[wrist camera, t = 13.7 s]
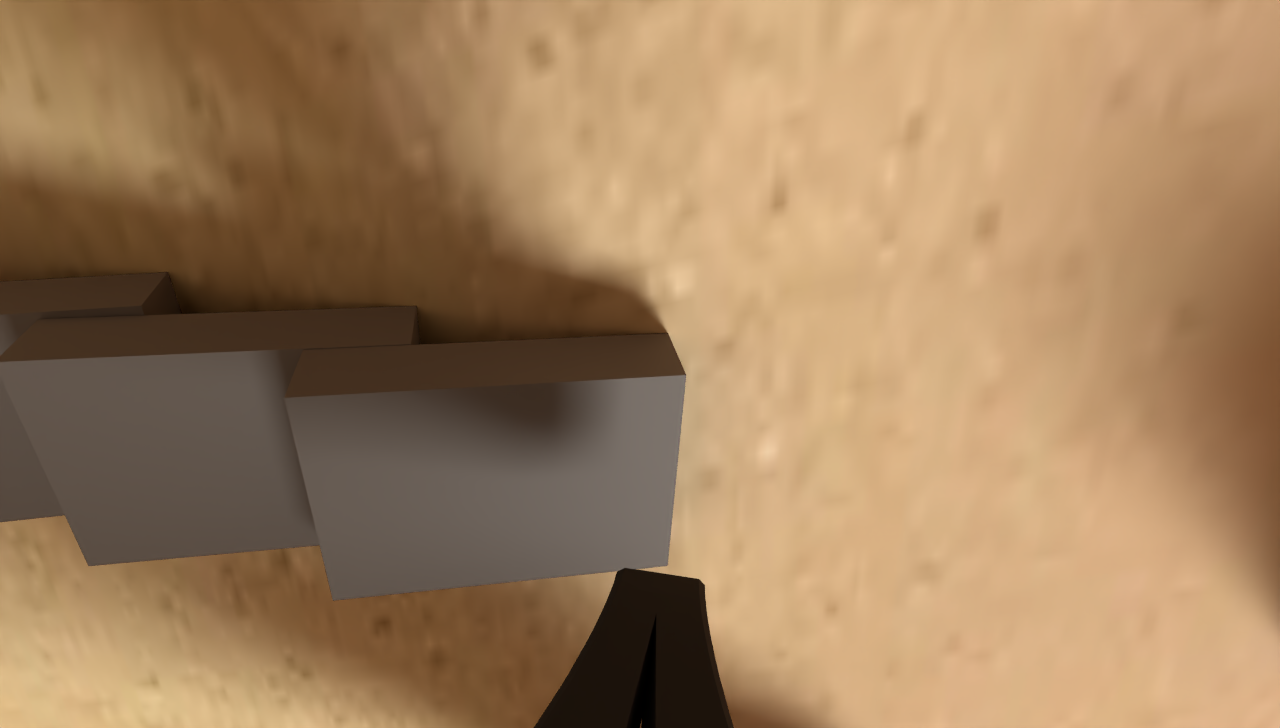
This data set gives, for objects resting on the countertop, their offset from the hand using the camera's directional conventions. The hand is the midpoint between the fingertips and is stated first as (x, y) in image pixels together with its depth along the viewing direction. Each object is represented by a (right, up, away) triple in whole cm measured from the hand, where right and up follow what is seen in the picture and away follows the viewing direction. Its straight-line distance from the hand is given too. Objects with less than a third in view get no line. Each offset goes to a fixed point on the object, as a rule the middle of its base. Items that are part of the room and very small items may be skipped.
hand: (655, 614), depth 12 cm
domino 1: (0, +2, +4) cm, 4 cm away
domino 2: (-5, +3, +4) cm, 7 cm away
